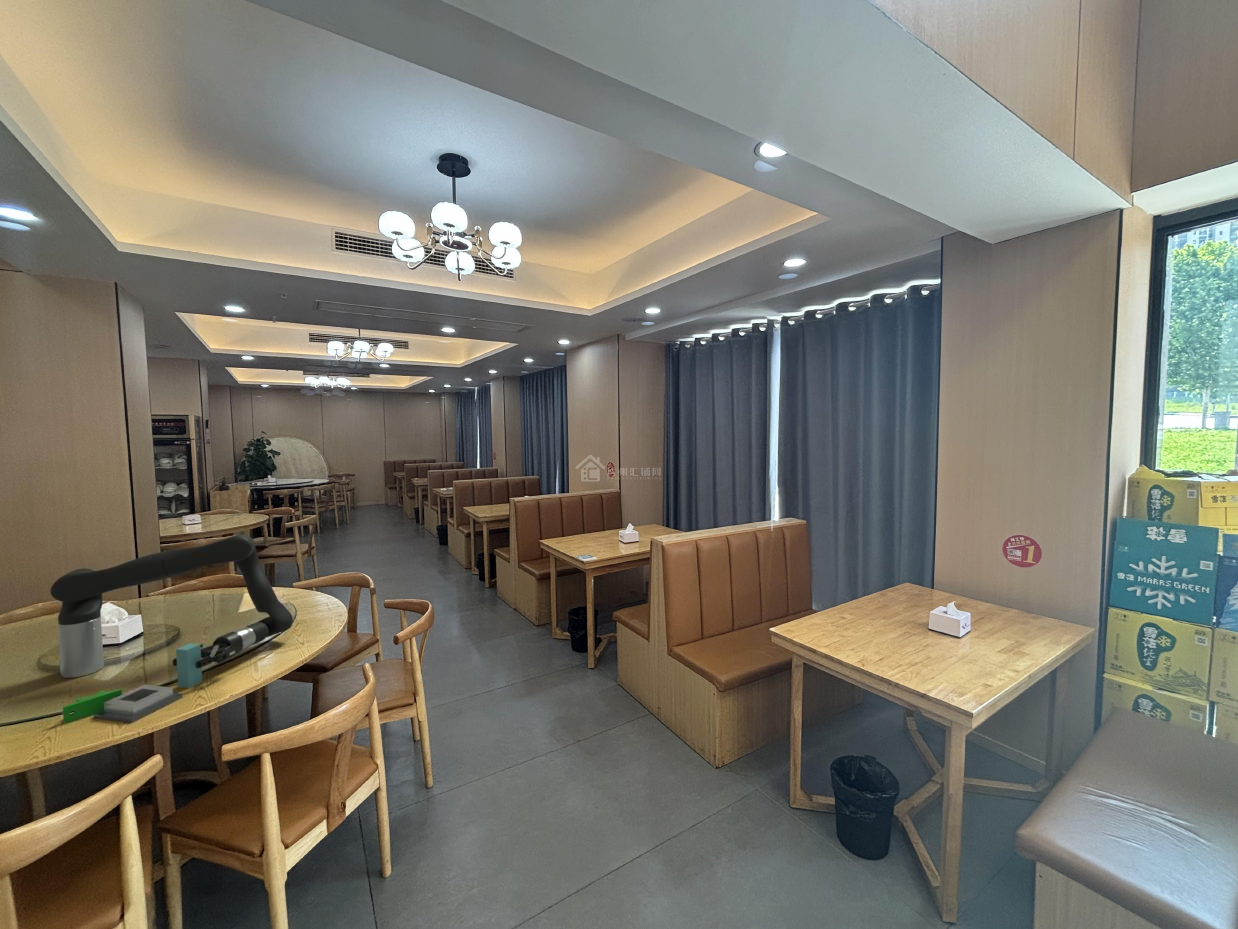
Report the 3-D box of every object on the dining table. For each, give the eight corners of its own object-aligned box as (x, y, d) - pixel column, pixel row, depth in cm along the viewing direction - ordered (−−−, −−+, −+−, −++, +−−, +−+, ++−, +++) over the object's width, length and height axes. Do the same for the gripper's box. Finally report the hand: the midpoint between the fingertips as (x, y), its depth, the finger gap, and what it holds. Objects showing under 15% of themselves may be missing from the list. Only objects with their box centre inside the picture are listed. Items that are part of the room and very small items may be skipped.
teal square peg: (178, 687, 150) (176, 649, 149) (191, 680, 154) (189, 643, 153) (188, 688, 149) (186, 650, 148) (202, 681, 153) (200, 644, 152)
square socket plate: (93, 717, 133) (92, 705, 133) (146, 692, 146) (146, 681, 146) (131, 723, 131) (131, 710, 131) (182, 697, 144) (182, 685, 144)
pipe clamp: (118, 701, 142) (118, 685, 142) (122, 705, 140) (122, 689, 140) (61, 719, 133) (60, 703, 132) (64, 724, 131) (63, 707, 130)
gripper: (217, 629, 167) (165, 650, 151) (252, 633, 164) (203, 654, 148) (217, 651, 167) (166, 674, 151) (253, 654, 165) (204, 678, 149)
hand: (185, 664), depth 150 cm, fingers open, 8 cm apart
